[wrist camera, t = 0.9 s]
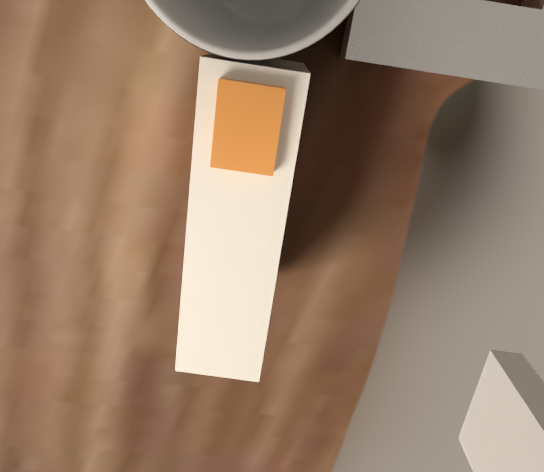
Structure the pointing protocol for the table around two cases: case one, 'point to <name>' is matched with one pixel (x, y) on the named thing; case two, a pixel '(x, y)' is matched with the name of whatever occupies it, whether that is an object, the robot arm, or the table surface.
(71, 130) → the table surface
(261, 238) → the white block
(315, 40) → the mug
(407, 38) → the rail
